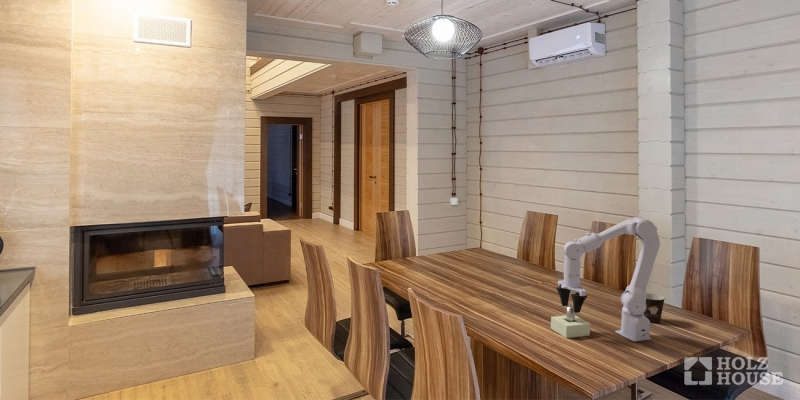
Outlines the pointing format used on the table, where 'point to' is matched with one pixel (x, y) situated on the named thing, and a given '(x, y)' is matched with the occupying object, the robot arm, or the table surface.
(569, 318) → the pin
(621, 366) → the table surface
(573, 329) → the bore block
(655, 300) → the coffee mug
